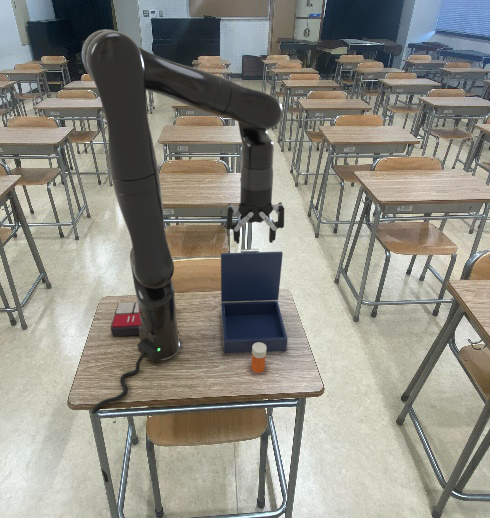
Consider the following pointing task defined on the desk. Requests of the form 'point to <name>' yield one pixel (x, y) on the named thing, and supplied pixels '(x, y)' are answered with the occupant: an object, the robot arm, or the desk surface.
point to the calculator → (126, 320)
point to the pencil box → (252, 326)
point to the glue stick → (258, 357)
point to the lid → (250, 275)
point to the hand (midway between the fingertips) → (254, 241)
